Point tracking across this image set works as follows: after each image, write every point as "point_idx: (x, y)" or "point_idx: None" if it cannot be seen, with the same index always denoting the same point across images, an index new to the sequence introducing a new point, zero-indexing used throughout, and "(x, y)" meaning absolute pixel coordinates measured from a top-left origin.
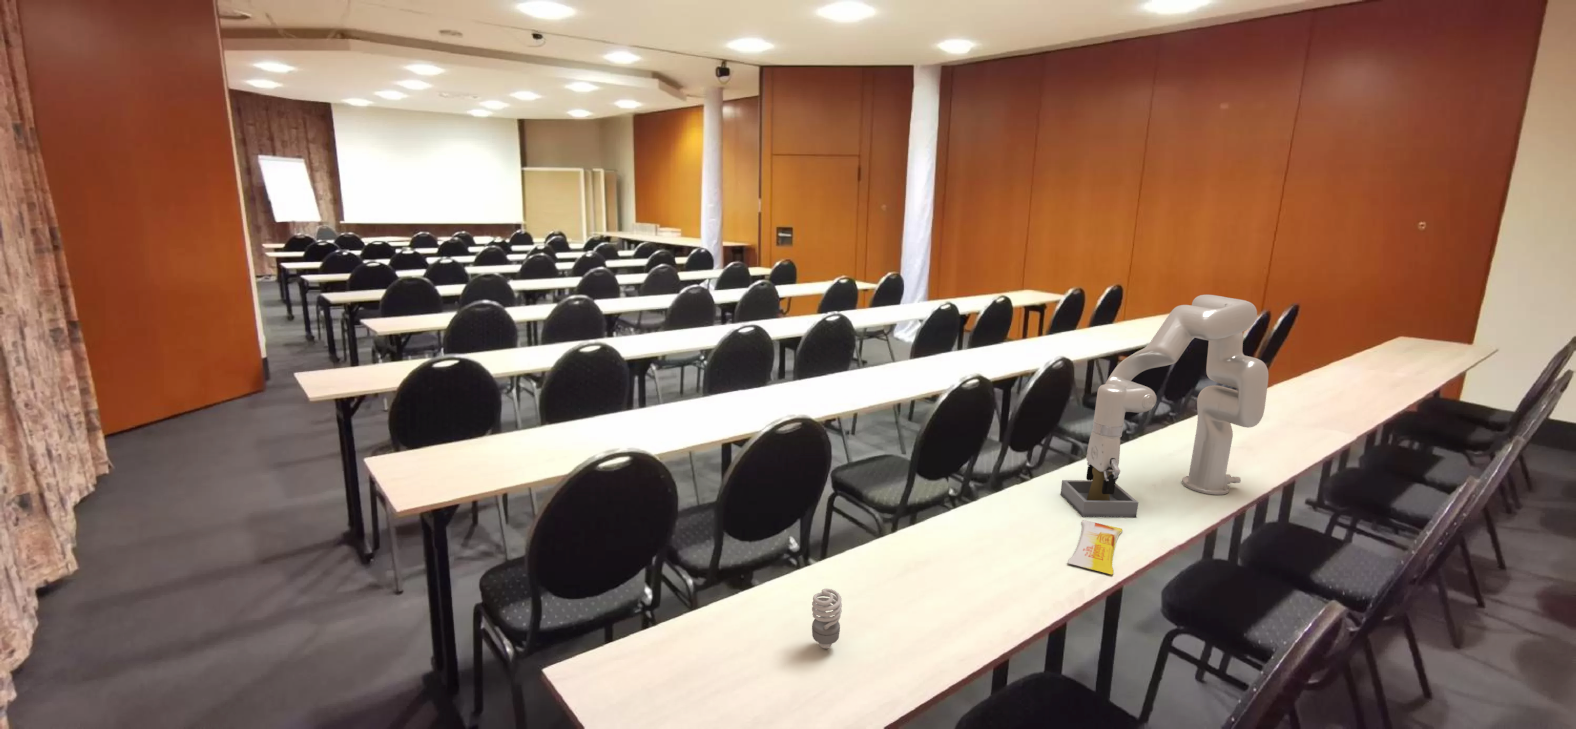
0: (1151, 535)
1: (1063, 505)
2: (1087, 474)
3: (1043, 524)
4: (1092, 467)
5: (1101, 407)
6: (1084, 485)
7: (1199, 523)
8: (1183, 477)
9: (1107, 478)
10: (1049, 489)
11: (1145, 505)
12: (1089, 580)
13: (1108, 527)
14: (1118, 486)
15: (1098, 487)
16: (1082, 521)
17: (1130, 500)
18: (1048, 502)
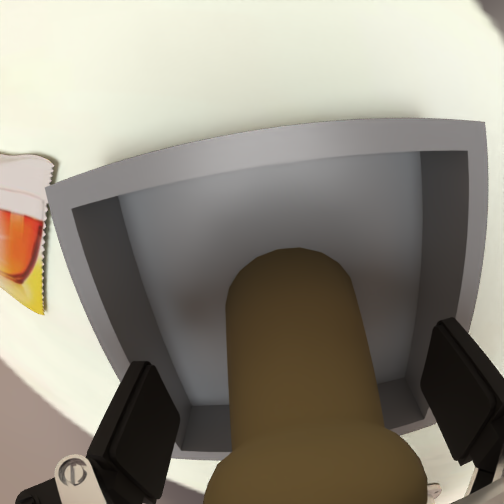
0: (62, 382)
1: (253, 84)
2: (463, 347)
3: (28, 6)
4: (483, 427)
5: None
6: (444, 283)
7: (203, 489)
8: (437, 489)
9: (58, 479)
10: (471, 90)
11: None
12: None
13: (20, 265)
14: None
15: (238, 371)
16: (30, 159)
17: (204, 444)
18: (283, 9)
